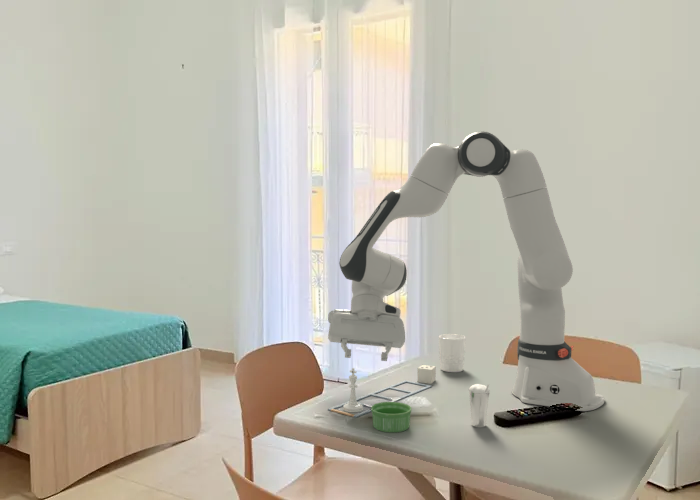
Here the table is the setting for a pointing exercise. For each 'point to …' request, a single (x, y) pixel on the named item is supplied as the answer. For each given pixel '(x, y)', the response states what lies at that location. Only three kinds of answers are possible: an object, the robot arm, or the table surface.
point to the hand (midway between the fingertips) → (366, 358)
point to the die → (426, 374)
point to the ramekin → (391, 416)
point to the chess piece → (352, 395)
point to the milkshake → (479, 404)
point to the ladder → (380, 397)
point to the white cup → (452, 352)
